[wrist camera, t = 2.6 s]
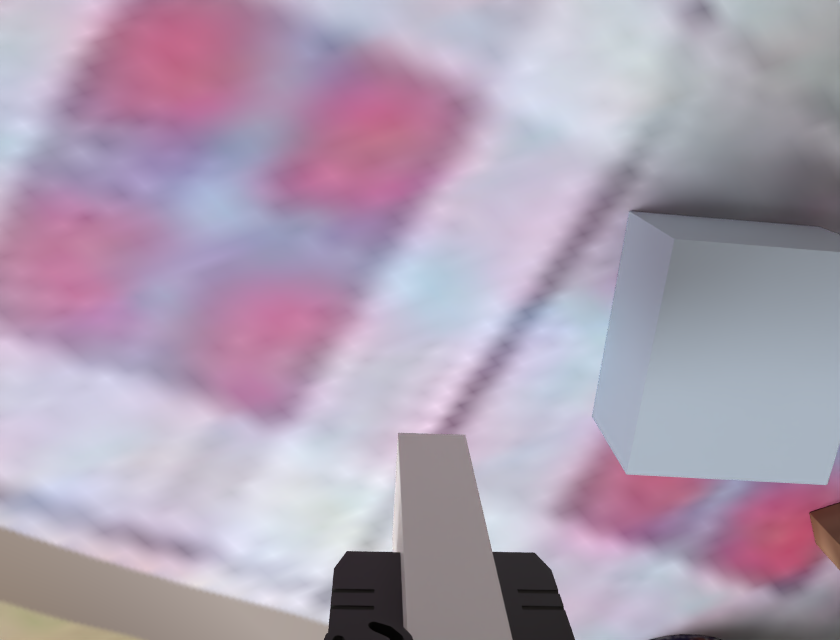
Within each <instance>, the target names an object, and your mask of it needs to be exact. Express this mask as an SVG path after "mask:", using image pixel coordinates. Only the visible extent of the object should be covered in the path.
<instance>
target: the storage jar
mask: <svg viewBox="0 0 840 640" xmlns="http://www.w3.org/2000/svg"><path fill="white" fill-rule="evenodd" d="M652 640H721V639H717V638H714V637H707V636H701V635H674V636H665V637H661V638H656V639H652Z"/></svg>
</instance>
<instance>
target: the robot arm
mask: <svg viewBox="0 0 840 640" xmlns="http://www.w3.org/2000/svg"><path fill="white" fill-rule="evenodd" d="M392 541H393V552H359V551H347V552H346V553H345V555H344V556H343V557H342V559H341V560H340V561H339V563H338V564H337V565H336V567H335V568H334V575H333V586H332V597H331V609H330V619H329V629H328V633H327V634H326V636H325V638H324V640H575V638H574V635H573V632H572V629H571V626H570V623H569V621H568V618H567V615H566V612H565V610H564V606H563V603H562V600H561V597H560V594H558V588H557V585H556V582H555V579H554V577H553V574H552V571H551V569H550V568H549V567H548V566H547V565H546V564H545V563H544V562H543V561H542V560H541V559H540V558H539V557H538V556H537V555H536V554H535V553H521V552H492V549H491V544H490V540H489V536H488V531H487V527H486V523H485V518H484V514H483V510H482V505H481V501H480V497H479V493H478V488H477V484H476V480H475V475H474V471H473V467H472V462H471V458H470V454H469V449H468V445H467V441H466V436H465V435H453V434H417V433H398V442H397V461H396V480H395V499H394V518H393V538H392Z"/></svg>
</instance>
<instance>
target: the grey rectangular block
mask: <svg viewBox="0 0 840 640" xmlns="http://www.w3.org/2000/svg"><path fill="white" fill-rule="evenodd" d="M592 417H593V419H594V421H595V422H596V424H597V426H598V427H599V429H600V431H601V432H602V434H603V436H604V437H605V439H606V441H607V442H608V444H609V446H610V447H611V449H612V451H613V453H614V454H615V456H616V458H617V459H618V461H619V463H620V464H621V466H622V468H623V469H624V471H625V473H626V474H630V475H649V476H668V477H687V478H706V479H724V480H743V481H762V482H781V483H800V484H819V485H827V483H828V480H829V477H830V473H831V470H832V467H833V464H834V460H835V457H836V454H837V450H838V447H839V444H840V235H839V234H837V233H834V232H832V231H829V230H826V229H824V228H821V227H817V226H805V225H792V224H780V223H768V222H756V221H744V220H732V219H719V218H707V217H695V216H683V215H671V214H658V213H646V212H634V211H629V215H628V221H627V227H626V232H625V238H624V243H623V249H622V254H621V260H620V265H619V271H618V276H617V282H616V287H615V293H614V298H613V304H612V309H611V315H610V320H609V326H608V331H607V337H606V342H605V348H604V353H603V359H602V364H601V370H600V375H599V381H598V386H597V392H596V397H595V403H594V408H593V414H592Z"/></svg>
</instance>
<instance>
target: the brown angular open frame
mask: <svg viewBox="0 0 840 640" xmlns="http://www.w3.org/2000/svg"><path fill="white" fill-rule="evenodd" d="M809 514H810V518H811V523H812V528H813V532H814V537H815V542H816V544H817V545H818V546H819V548H820V549H821V550H822V551H823V552H824V553H825V554H826V555H827V556H828V558H829V559H830V560H831V561H832V562H833V563H834V564H835V565H836V566H837V568H838V569H839V570H840V503H838V504H835V505H832V506H829V507H826V508H823V509H820V510H817V511H814V512H810V513H809Z"/></svg>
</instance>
